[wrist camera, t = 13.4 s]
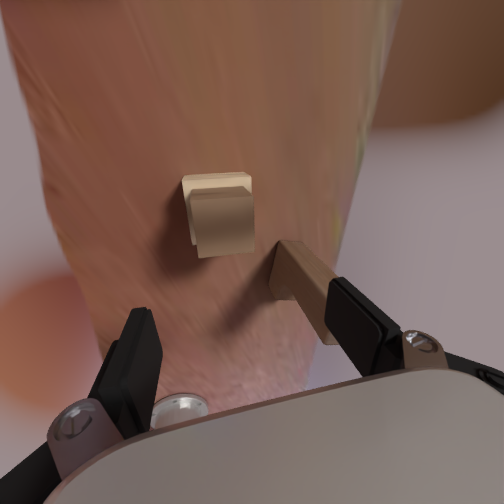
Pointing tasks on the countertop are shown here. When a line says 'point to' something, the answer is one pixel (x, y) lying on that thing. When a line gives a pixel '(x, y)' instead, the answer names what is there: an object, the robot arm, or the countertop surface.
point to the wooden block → (303, 283)
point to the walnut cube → (223, 221)
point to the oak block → (210, 182)
